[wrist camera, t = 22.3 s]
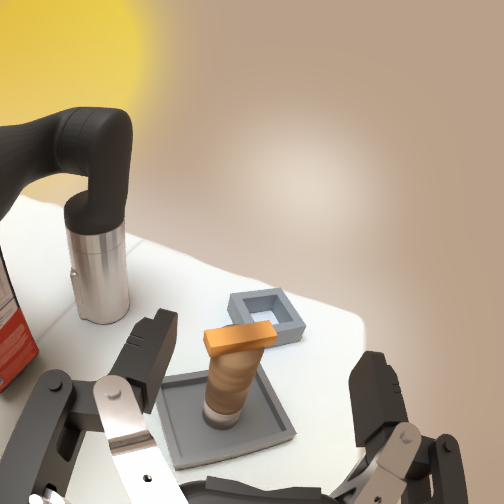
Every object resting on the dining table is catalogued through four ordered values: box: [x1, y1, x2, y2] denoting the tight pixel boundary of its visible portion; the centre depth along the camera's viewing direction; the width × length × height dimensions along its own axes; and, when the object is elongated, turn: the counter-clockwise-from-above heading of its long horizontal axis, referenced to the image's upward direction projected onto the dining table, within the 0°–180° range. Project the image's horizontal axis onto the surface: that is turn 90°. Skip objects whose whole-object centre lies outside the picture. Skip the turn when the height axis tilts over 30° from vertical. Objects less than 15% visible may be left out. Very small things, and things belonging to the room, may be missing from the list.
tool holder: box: [227, 288, 306, 349], centre depth 51 cm, size 10×10×4 cm
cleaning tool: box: [202, 320, 278, 430], centre depth 31 cm, size 6×5×17 cm
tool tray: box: [155, 363, 297, 471], centre depth 35 cm, size 16×13×2 cm
